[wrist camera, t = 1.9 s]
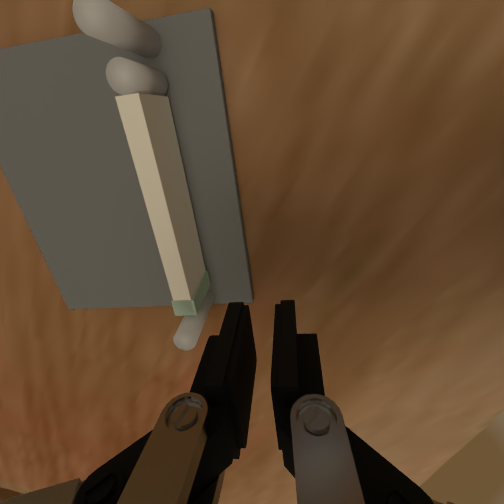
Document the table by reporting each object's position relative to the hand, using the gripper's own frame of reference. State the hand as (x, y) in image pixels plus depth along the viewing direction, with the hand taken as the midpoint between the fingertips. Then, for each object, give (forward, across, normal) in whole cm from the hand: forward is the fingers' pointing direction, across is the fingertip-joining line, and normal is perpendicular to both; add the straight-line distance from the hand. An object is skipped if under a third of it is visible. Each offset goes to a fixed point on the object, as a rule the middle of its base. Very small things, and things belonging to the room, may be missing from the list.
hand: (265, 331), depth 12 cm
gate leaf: (+16, +8, -2) cm, 18 cm away
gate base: (+17, +14, -2) cm, 23 cm away
